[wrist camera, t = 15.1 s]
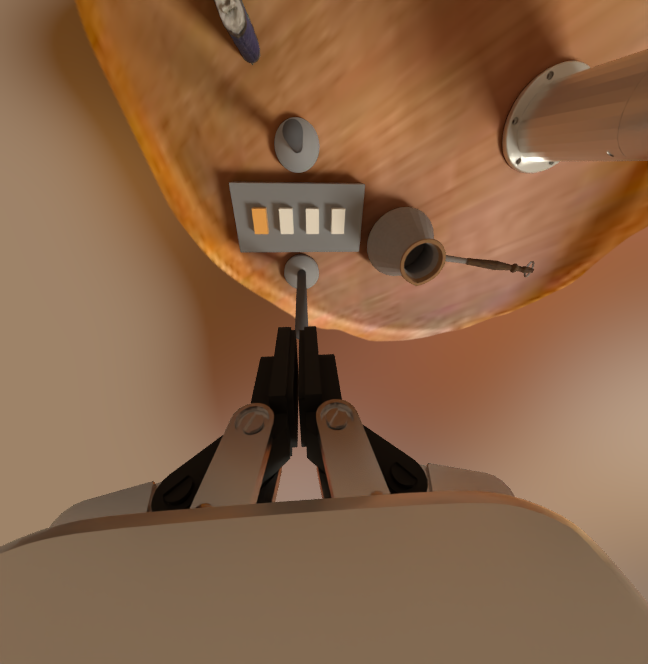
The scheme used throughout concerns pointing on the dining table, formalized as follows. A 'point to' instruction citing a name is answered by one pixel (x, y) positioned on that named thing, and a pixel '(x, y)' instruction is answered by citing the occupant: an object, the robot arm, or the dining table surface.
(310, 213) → the breaker strip
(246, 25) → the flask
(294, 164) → the post
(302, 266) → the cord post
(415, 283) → the coffee pot
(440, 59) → the dining table surface
